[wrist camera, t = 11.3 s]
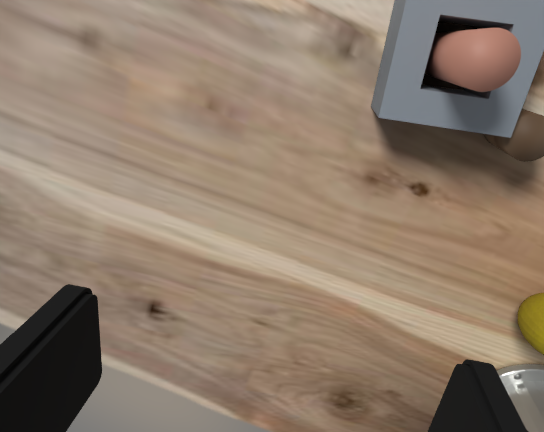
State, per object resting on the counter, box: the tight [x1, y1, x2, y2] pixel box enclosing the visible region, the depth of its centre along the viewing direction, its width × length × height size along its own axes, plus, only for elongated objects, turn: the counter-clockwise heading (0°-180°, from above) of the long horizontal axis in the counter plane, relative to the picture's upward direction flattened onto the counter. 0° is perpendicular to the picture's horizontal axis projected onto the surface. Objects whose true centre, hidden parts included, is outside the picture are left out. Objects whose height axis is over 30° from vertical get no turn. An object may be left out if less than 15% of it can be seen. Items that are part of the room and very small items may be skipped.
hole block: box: [371, 0, 544, 138], centre depth 31 cm, size 10×10×6 cm
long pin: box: [425, 28, 521, 92], centre depth 29 cm, size 4×4×11 cm
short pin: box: [484, 109, 544, 161], centre depth 33 cm, size 4×4×5 cm
